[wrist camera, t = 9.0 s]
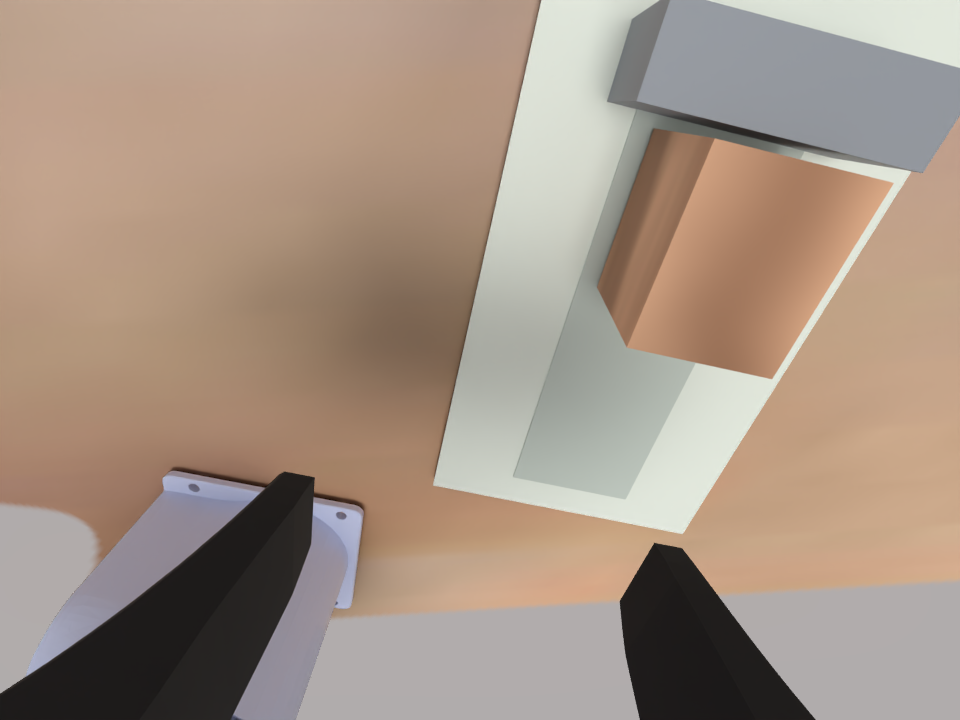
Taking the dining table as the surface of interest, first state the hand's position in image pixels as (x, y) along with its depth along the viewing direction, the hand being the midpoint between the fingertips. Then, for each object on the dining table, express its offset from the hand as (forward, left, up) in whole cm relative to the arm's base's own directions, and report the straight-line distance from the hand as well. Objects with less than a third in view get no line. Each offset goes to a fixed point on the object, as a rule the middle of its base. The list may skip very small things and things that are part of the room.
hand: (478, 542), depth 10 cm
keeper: (+5, +6, -9) cm, 12 cm away
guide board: (+5, +3, -9) cm, 11 cm away
